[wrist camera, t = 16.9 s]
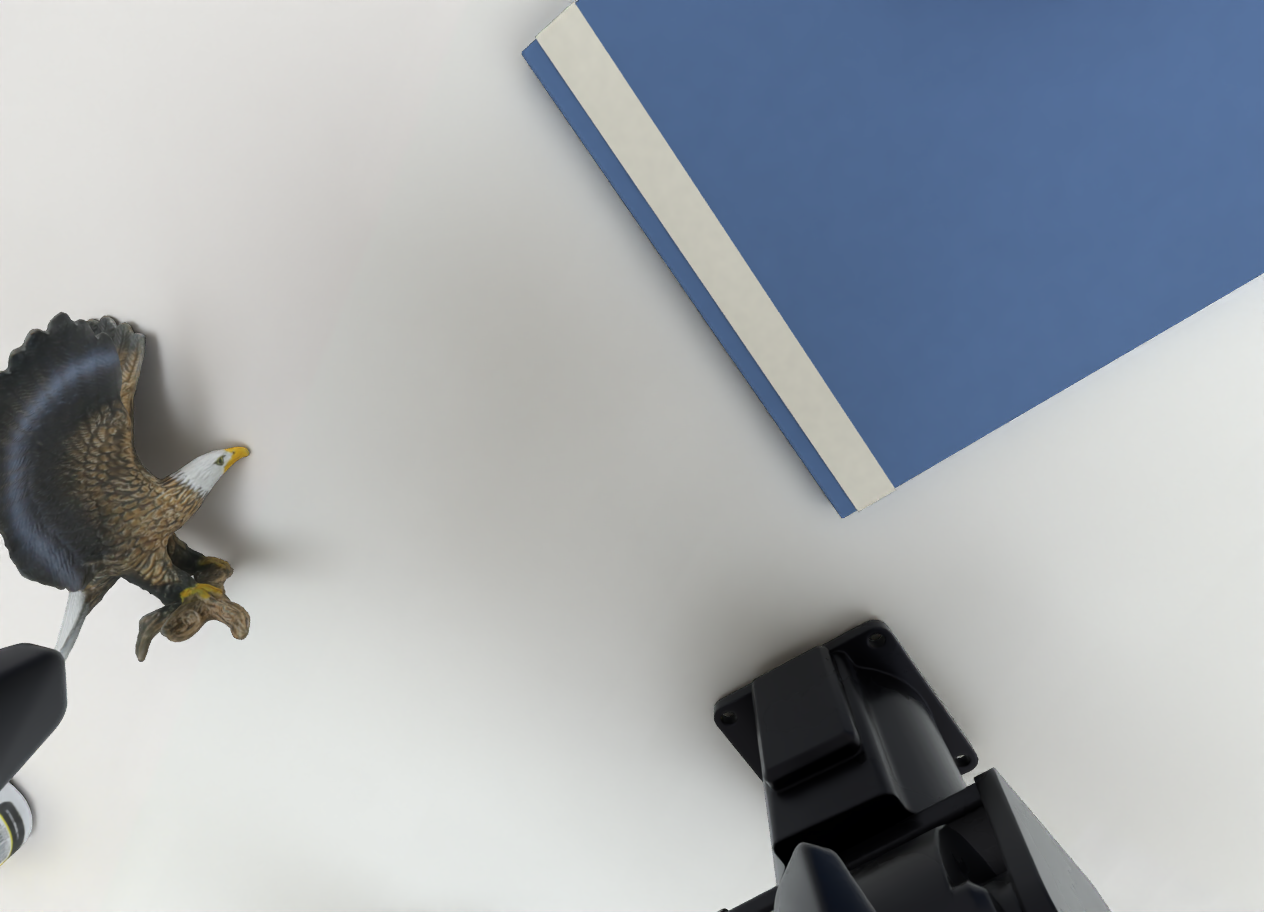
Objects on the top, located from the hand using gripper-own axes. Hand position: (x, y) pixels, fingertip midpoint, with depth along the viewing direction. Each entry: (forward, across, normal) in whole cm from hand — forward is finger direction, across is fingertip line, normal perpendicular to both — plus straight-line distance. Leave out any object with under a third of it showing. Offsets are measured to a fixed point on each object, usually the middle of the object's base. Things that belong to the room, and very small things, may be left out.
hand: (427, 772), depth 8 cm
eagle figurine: (+13, +12, +4) cm, 19 cm away
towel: (+13, -8, -11) cm, 19 cm away
